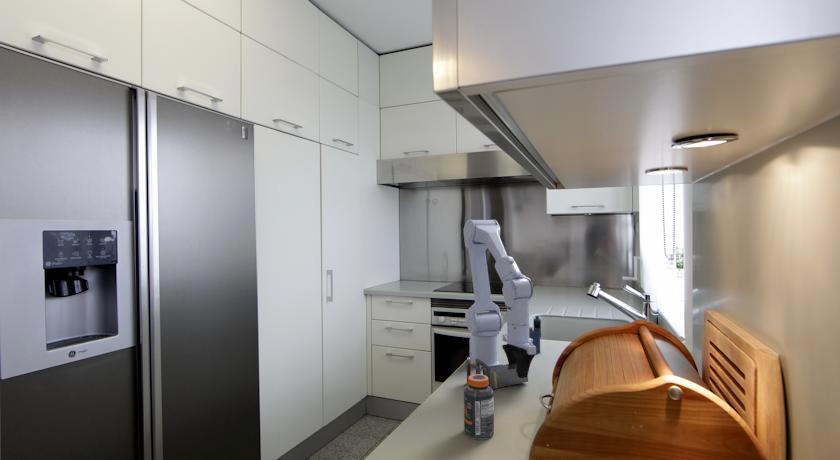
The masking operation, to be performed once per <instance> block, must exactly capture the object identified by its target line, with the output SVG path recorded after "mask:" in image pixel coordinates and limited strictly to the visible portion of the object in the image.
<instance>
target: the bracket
mask: <svg viewBox="0 0 840 460" xmlns="http://www.w3.org/2000/svg"><path fill="white" fill-rule="evenodd" d="M476 365H477V366H478V367H480V365H481V366H483V367H482V368H483V369H486V376H487V377H488V382H489V384H488V386H489V387H490V367H489V366H488V365H486V364H485V363H483V362H482V361H481V360H479V359H476Z"/></svg>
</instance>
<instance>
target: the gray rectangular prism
mask: <svg viewBox="0 0 840 460" xmlns="http://www.w3.org/2000/svg"><path fill="white" fill-rule="evenodd" d="M481 372H482V375H485V376H486V369H485V368H482V371H481ZM528 375H529V374H528ZM528 375H527V377H525V378H520V377H519V375H518V369H517V363H511V364H509V363H508V364H507V363H506V364H503V365H500V366H491V367H490V387H491V388H492V390H493V389H498V388H503V387H508V386H513V385H517V384H522V383H527V382H529V376H528Z"/></svg>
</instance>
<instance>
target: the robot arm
mask: <svg viewBox="0 0 840 460" xmlns="http://www.w3.org/2000/svg"><path fill="white" fill-rule="evenodd" d="M462 231H463V239H464V245H465V248H467V249H468V255H469V261H470V263H469V264H470V271H471V279H472V289H473V297H474V303H473V304H472V305H471V306H470V307H468V309H467V319H466V326H467V329H468V331H469V332H470V333H471V335H470V337H469V356H468V357H467V358H466V360H468V359H469V358H470V359H469V360H470V361H472V362H476V359H479V360H481V361H482V362H483V363H485V364H486V365H488V366H489V367H495V366H501V365H504V364H503V363H502V362H501V361H499V360H498V335H499V334H500V332H501V331H502V330H503V326H504V319H503V316H502V314H501V310H500V307H499V306H498V305H497V304H496V303H495V302H493V300H492V293H491V286H490V278H489V271H488V264H487V254H486V251H487V249H488V250H489V253H490V254H491V255H492V257H493V258H494V260H495V264H494V269H495V270H496V273H497V275H498V276H499V279H500V280H501V283H502V284H503V285H502V288H501V290H502V295H503V297H504V304H505V306H506V318H507V319H506V324H507V325H506V327H507V328H506V331H507V332H506V333H502V341H503V342H505V343H506V344H502V346H501V347H502V349H503V351H504V353H505V356H506V359H507V363H508V364H511V363H517V369H518V375H519V377H520V378H525V377H527V375H529V371H530V368H531V367H530V366H531V364H532V361H533V359H534V357H535V356H536V355H537V353H536V346H534V345H533V344H532V342H533V339H531V338H529V327H530V299H531V298H533V295H534V284H533V282H532V280H531V278H530V277H527V276H526V275H525V274H522V272H521V270H520V268H519V265H518V264H517V262H516V261H515V259H514V257H513V256H509V255H508V253H507V251H506V249H505V247H504V243H503V241H502V240H501V237H500V236H501V226H500V224H499V222H498V220H496V219H467V220H466V221H465V223H464V227H463V230H462ZM480 368H484V367H483V366H481V365H480Z"/></svg>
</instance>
